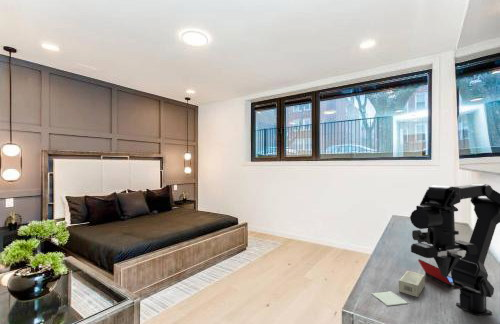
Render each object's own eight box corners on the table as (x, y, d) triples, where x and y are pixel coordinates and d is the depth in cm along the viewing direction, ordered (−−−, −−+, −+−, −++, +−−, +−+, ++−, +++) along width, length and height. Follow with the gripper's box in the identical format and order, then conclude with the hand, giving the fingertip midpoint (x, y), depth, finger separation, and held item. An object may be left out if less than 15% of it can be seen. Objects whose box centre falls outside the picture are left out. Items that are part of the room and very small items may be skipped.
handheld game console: (468, 288, 95) (468, 268, 95) (442, 289, 94) (442, 270, 94) (440, 274, 107) (440, 257, 108) (417, 275, 106) (417, 258, 107)
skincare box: (418, 297, 88) (425, 286, 96) (417, 284, 88) (425, 274, 96) (398, 291, 92) (407, 281, 101) (398, 279, 92) (406, 270, 101)
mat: (390, 292, 92) (390, 291, 92) (408, 303, 84) (408, 302, 84) (371, 294, 90) (371, 293, 90) (387, 306, 82) (387, 305, 82)
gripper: (443, 219, 86) (445, 264, 86) (396, 222, 83) (398, 268, 83) (478, 226, 75) (479, 278, 75) (425, 229, 72) (427, 283, 72)
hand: (444, 276), depth 76 cm, fingers closed
